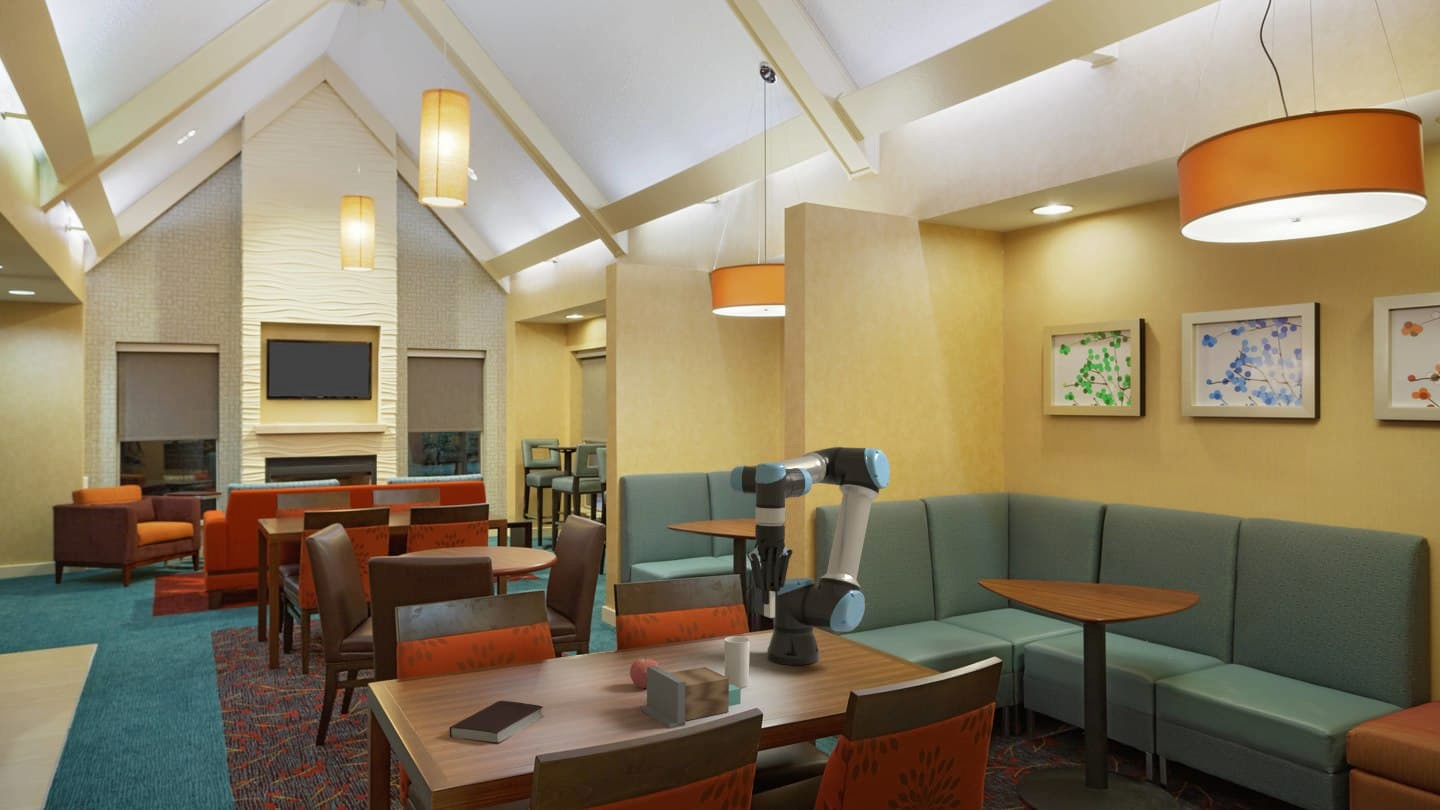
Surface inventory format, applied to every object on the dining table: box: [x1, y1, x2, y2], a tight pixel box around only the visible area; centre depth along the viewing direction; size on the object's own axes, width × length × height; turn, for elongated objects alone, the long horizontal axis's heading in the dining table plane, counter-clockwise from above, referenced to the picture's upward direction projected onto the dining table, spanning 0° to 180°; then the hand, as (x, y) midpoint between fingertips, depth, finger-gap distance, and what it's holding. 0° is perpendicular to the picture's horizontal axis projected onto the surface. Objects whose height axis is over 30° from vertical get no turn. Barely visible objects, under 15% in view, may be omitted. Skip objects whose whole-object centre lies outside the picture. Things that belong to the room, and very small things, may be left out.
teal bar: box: [729, 685, 742, 707], centre depth 220 cm, size 14×4×4 cm, turn 122°
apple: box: [629, 657, 659, 689], centre depth 234 cm, size 7×7×8 cm
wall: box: [639, 665, 686, 729], centre depth 212 cm, size 4×15×10 cm, turn 33°
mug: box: [723, 635, 751, 689], centre depth 238 cm, size 10×7×12 cm, turn 24°
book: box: [449, 700, 544, 745], centre depth 205 cm, size 12×19×3 cm, turn 160°
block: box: [669, 666, 730, 722], centre depth 217 cm, size 12×11×8 cm
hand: (769, 616), depth 229 cm, fingers closed
